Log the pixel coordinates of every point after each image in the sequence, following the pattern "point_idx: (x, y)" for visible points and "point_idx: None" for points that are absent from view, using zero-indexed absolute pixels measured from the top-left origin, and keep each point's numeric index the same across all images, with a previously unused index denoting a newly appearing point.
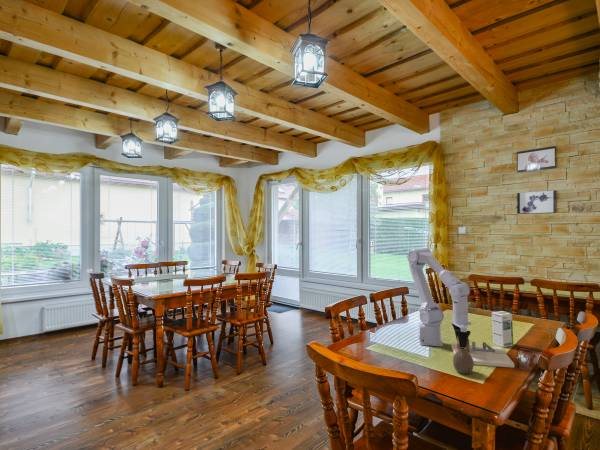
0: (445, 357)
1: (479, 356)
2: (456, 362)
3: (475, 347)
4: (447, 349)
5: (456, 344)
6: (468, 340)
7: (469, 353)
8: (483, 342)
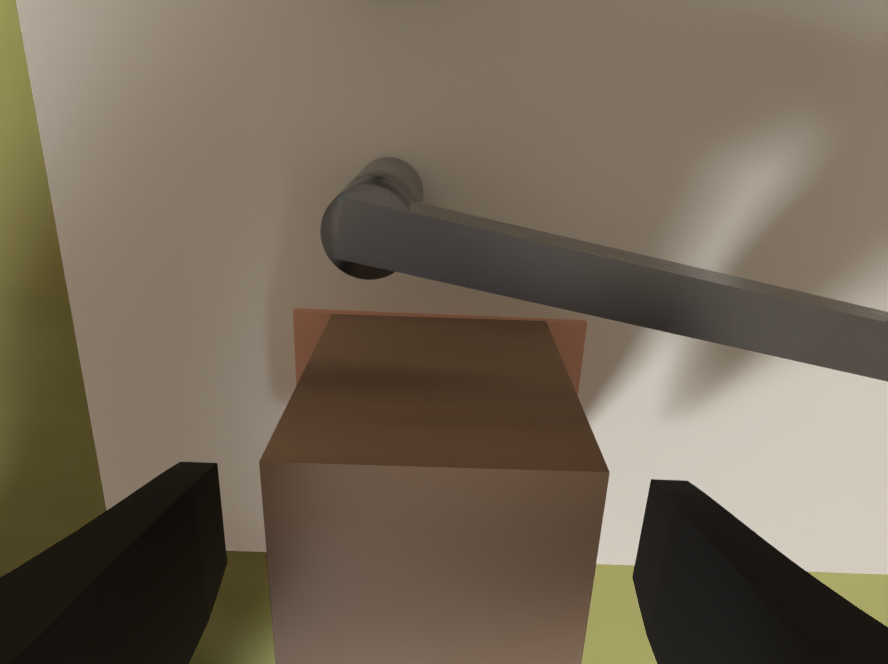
0: (631, 645)
1: (788, 172)
2: None
3: (397, 168)
4: (263, 572)
5: (101, 463)
6: (603, 479)
7: (613, 335)
8: None
